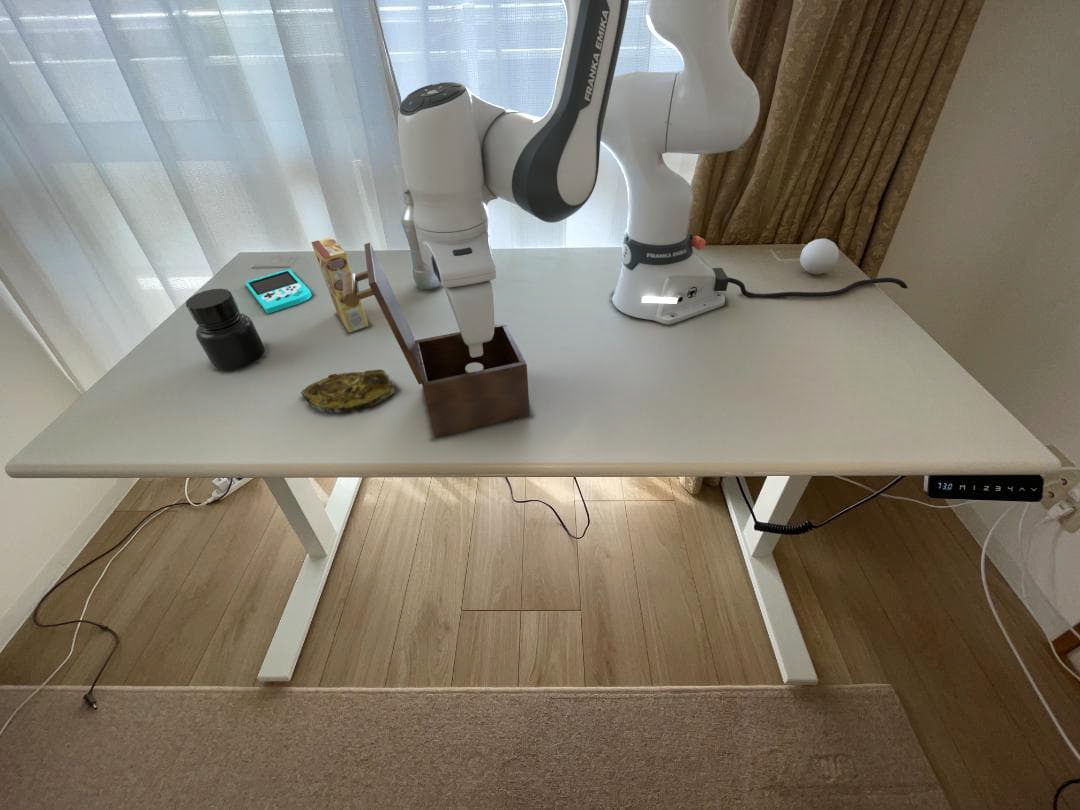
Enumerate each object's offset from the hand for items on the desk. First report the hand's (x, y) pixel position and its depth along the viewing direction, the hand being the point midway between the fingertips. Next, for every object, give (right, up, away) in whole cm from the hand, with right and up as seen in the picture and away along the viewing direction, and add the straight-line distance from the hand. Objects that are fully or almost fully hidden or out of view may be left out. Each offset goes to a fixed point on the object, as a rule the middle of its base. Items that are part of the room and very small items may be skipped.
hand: (469, 335), depth 70 cm
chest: (0, -10, +8) cm, 12 cm away
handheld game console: (-47, +15, +38) cm, 62 cm away
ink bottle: (-45, -1, +20) cm, 49 cm away
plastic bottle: (-14, +16, +38) cm, 44 cm away
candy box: (-27, +7, +28) cm, 40 cm away
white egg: (+70, +20, +39) cm, 83 cm away
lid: (-8, +2, -6) cm, 10 cm away
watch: (0, -9, +8) cm, 12 cm away
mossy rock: (-21, -8, +11) cm, 25 cm away
